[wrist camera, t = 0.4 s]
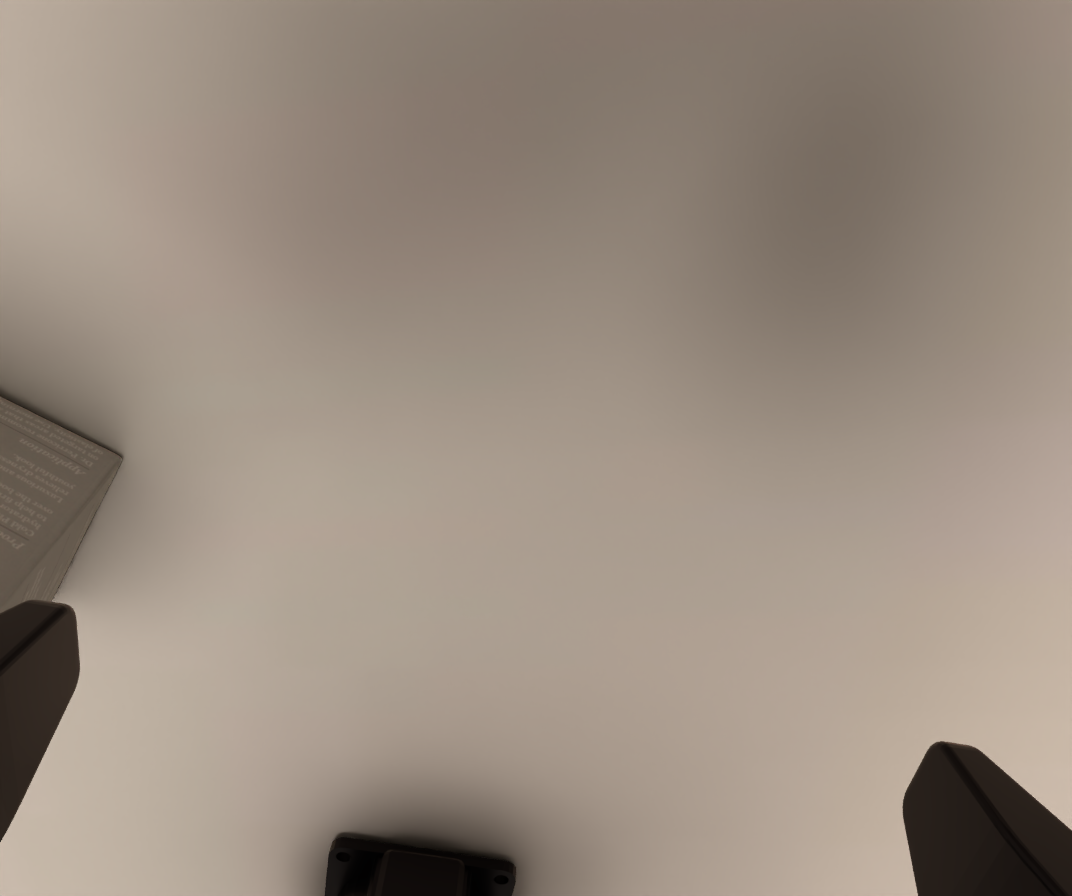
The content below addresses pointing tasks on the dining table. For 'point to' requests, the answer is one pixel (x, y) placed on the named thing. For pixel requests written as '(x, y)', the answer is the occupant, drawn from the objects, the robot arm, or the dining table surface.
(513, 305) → the dining table surface
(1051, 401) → the dining table surface
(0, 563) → the skincare box
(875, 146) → the dining table surface
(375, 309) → the dining table surface
